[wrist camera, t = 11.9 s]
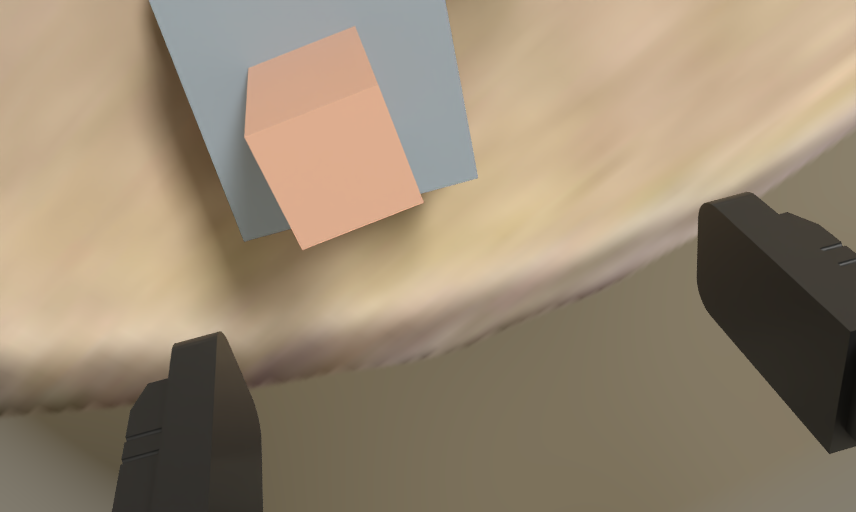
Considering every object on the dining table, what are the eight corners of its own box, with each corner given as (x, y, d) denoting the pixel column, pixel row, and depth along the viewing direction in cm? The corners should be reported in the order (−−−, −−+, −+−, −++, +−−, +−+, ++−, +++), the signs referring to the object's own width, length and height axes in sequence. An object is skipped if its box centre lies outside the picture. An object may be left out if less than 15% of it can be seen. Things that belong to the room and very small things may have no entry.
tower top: (158, -23, 34) (147, -3, 31) (414, -88, 35) (431, -75, 32) (245, 204, 41) (244, 241, 37) (460, 147, 41) (477, 178, 38)
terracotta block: (248, 67, 33) (244, 137, 26) (354, 26, 33) (378, 84, 26) (295, 165, 36) (302, 250, 29) (393, 126, 36) (423, 202, 29)
